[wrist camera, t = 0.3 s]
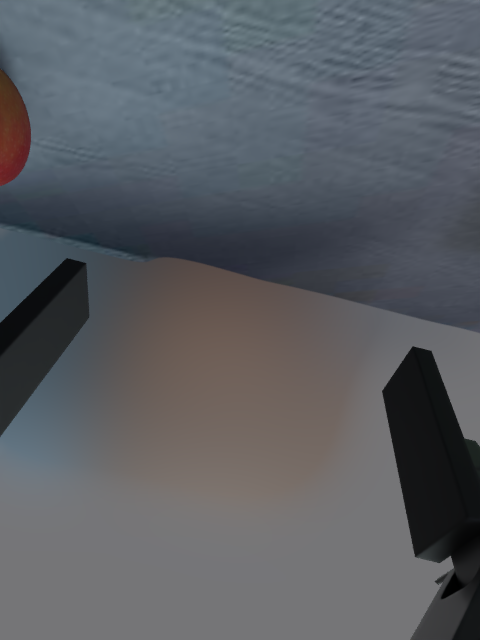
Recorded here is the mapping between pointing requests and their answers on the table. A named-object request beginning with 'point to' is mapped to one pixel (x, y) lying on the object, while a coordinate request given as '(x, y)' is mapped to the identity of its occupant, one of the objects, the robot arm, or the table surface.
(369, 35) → the table surface
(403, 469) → the robot arm
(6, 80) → the apple
